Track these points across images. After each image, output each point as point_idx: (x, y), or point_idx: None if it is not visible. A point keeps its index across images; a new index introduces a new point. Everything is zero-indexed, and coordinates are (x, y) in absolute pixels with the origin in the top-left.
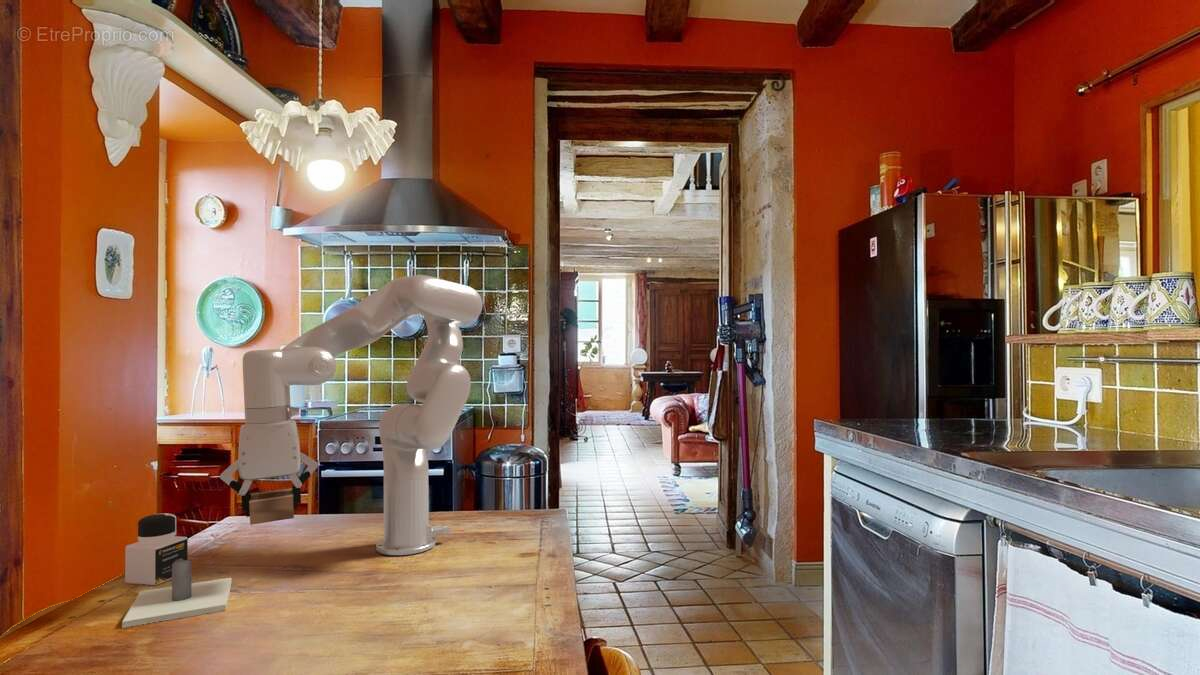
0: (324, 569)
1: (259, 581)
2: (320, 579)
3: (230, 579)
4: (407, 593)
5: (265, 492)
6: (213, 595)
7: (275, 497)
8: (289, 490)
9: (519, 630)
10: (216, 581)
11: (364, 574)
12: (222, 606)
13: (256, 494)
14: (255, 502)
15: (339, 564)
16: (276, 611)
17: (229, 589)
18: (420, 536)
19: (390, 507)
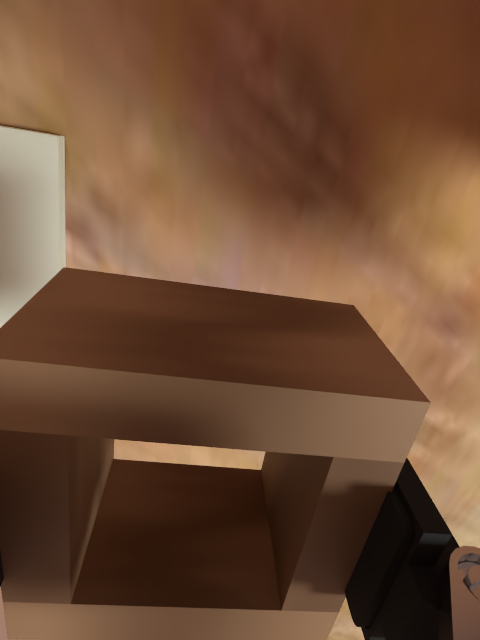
0: (371, 197)
1: (160, 185)
2: (329, 290)
3: (56, 161)
4: (442, 485)
5: (143, 404)
6: (17, 301)
7: (208, 615)
8: (370, 474)
9: None
10: (4, 149)
11: (438, 322)
12: None
13: (44, 432)
14: (57, 633)
15: (430, 174)
16: (183, 445)
17: (62, 242)
18: None
19: None
